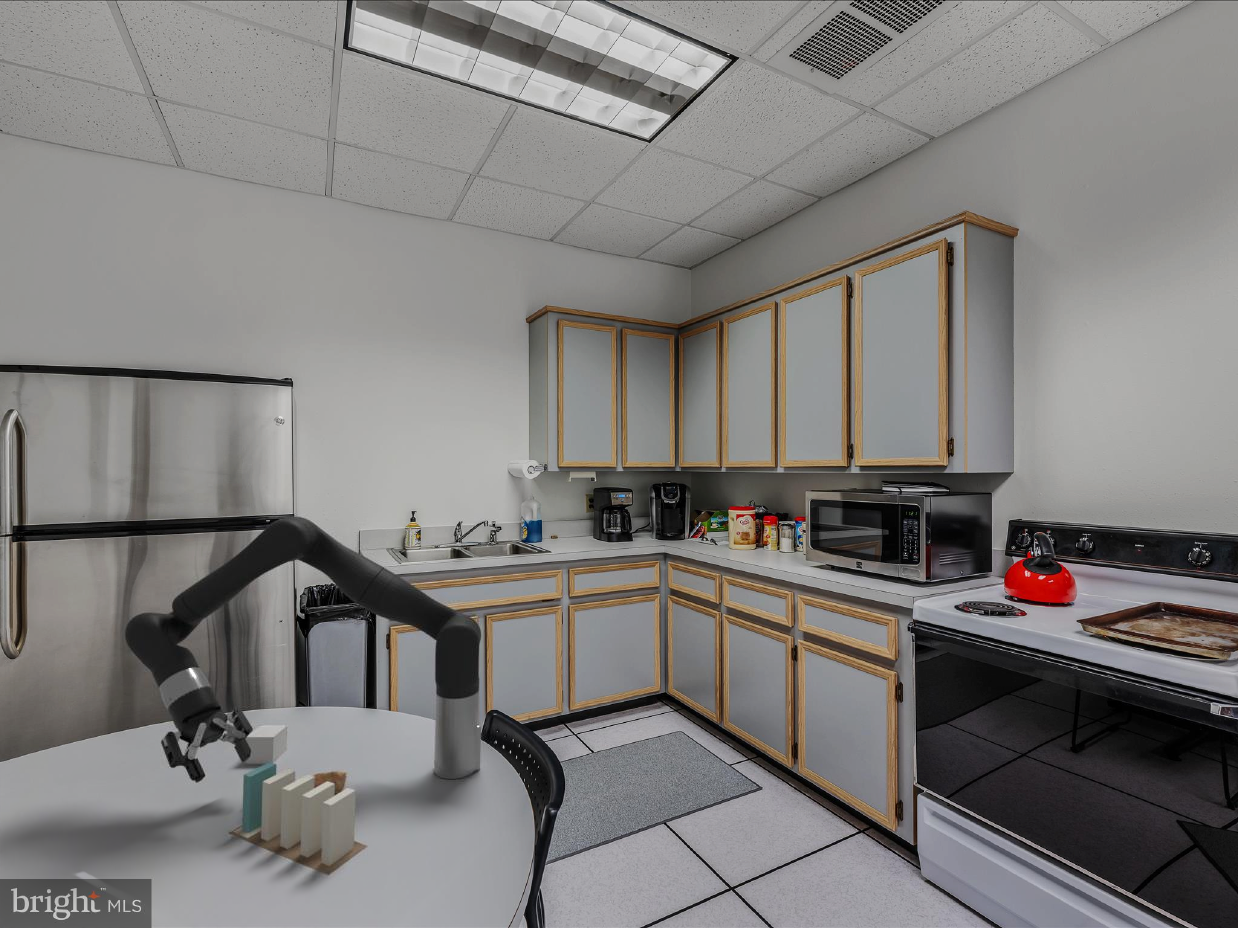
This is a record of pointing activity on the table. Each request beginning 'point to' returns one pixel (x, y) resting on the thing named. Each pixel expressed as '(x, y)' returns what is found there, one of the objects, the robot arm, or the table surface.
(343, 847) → the domino
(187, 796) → the table surface
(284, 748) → the white cube
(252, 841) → the board
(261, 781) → the teal domino
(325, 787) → the domino
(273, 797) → the domino
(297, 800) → the domino
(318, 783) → the shard
